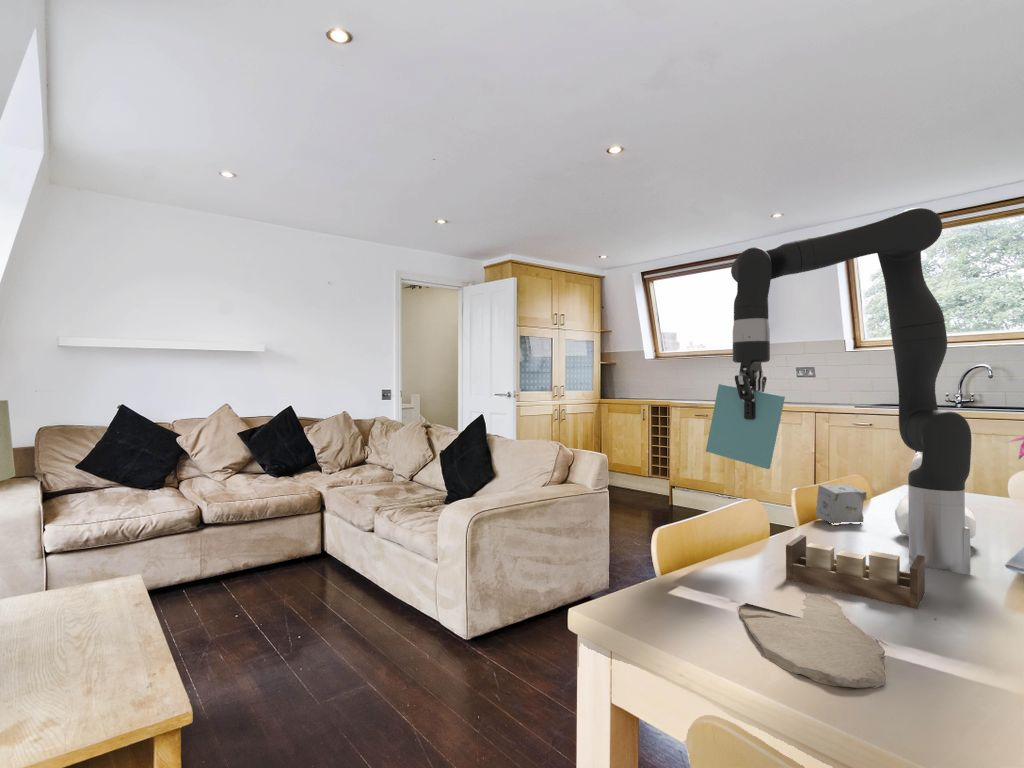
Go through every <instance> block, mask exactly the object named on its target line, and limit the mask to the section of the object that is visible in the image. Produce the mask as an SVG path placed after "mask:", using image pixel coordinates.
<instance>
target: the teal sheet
mask: <svg viewBox="0 0 1024 768" xmlns="http://www.w3.org/2000/svg"><path fill="white" fill-rule="evenodd" d="M747 394H748V393H747ZM785 400H786V396H785V395H781V394H780V395H779V394H776V393H775V394H774V393H769V392H765V391H764V392H760V391H757V392H756V402H753V403H755V419H754V420H748V419H745V418H744V403H745V402H743V400H742V399H740V398H739V394H738V390H737V386H732V385H728V384H723V383H718V386H717V391H716V396H715V402H714V407H713V410H712V411H713V412H712V418H711V422H710V427H709V433H708V437H707V442H706V448H705V452H706V453H710V454H713V455H717V456H721V457H725V458H727V459H731V460H734V461H738V462H742V463H745V464H749V465H752V466H754V467H755V466H756V467H759V468H762V469H766V470H770V469H771V465H772V460H773V455H774V451H775V447H776V442H777V436H778V433H779V428H780V422H781V417H782V414H783V413H782V412H783V408H784V404H785Z"/></svg>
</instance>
